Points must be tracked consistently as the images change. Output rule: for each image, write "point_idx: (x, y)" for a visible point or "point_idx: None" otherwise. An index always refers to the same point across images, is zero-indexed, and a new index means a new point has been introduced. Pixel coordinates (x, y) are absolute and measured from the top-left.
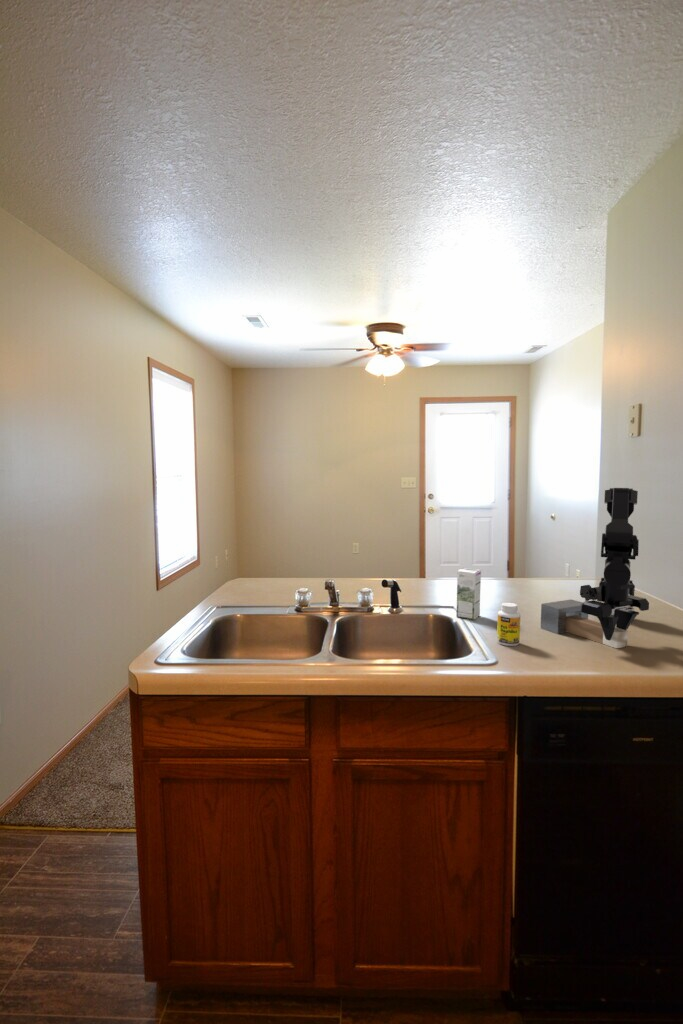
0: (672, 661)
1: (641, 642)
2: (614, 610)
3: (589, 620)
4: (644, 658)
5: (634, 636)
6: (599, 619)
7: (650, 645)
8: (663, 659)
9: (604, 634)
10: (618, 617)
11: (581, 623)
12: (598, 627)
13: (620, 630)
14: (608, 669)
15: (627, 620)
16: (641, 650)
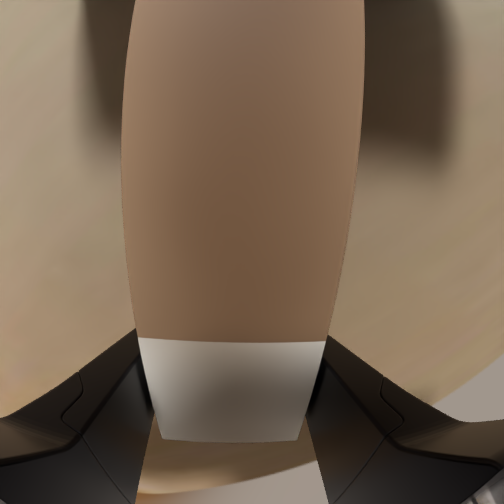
0: (257, 475)
1: (418, 336)
2: (449, 484)
3: (316, 2)
4: (189, 446)
5: (488, 255)
6: (10, 422)
7: (398, 376)
8: (249, 465)
9: (126, 336)
10: (372, 458)
11: (143, 6)
12: (130, 274)
13: (247, 425)
14: (3, 411)
15: (332, 500)
16: None
